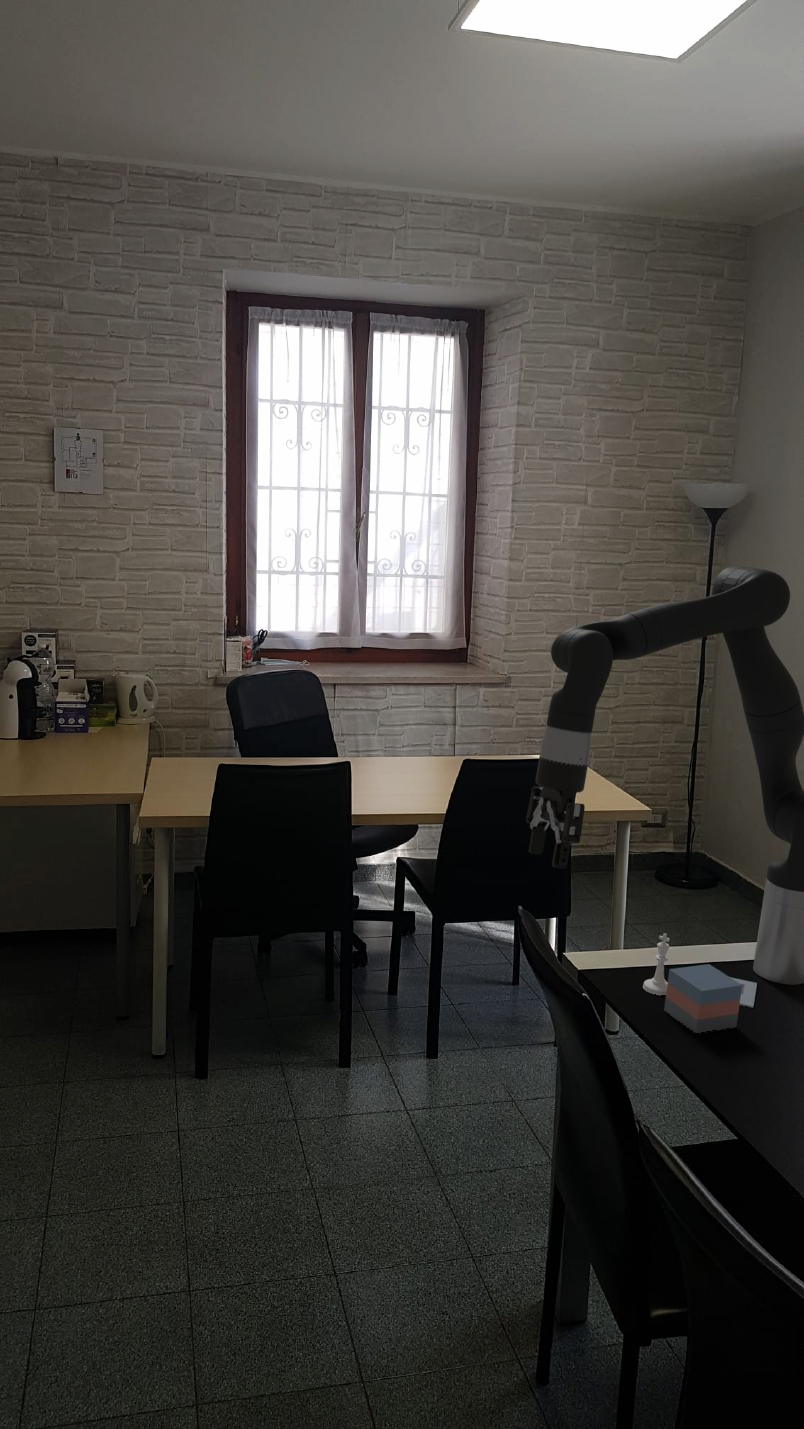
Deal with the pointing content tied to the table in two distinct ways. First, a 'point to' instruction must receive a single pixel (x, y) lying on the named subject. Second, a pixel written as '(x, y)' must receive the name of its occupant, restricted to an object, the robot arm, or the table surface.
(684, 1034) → the table surface
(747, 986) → the picture card
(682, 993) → the brick tower
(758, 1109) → the table surface
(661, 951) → the chess piece
